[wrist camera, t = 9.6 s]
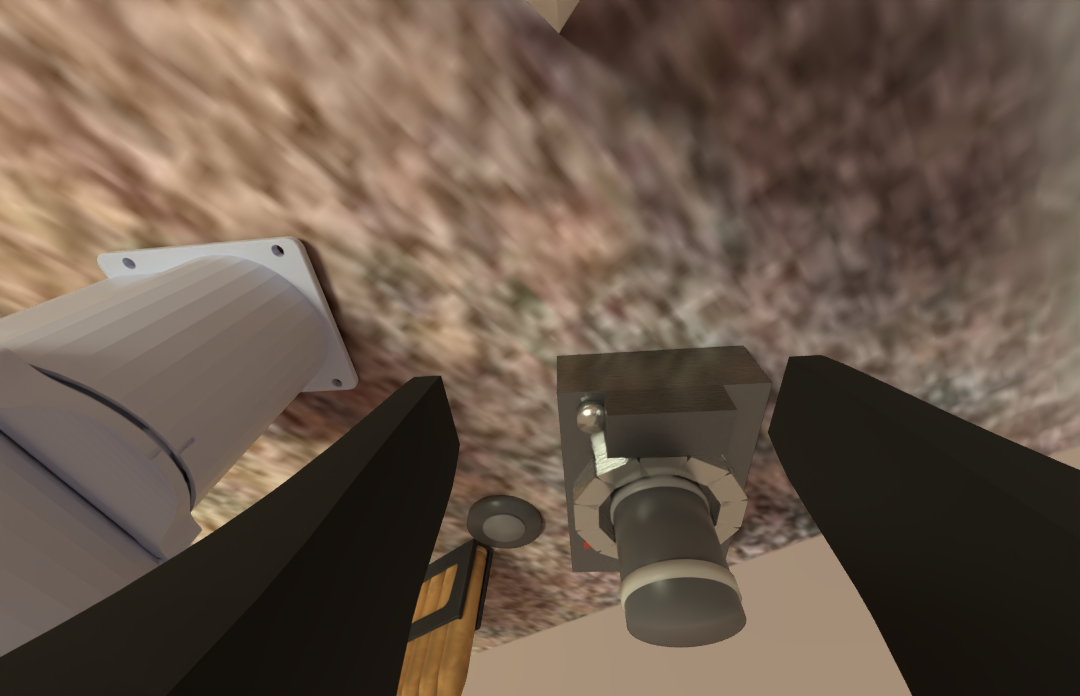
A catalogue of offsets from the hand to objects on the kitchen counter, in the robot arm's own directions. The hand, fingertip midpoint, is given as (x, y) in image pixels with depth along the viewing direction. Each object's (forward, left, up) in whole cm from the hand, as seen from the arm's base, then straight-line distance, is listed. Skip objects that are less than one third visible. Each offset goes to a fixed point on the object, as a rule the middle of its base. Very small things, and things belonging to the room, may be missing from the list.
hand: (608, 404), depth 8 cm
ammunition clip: (-12, -24, -10) cm, 29 cm away
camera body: (+3, -12, -10) cm, 16 cm away
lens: (+3, -11, -7) cm, 14 cm away
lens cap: (-6, -18, -10) cm, 22 cm away
